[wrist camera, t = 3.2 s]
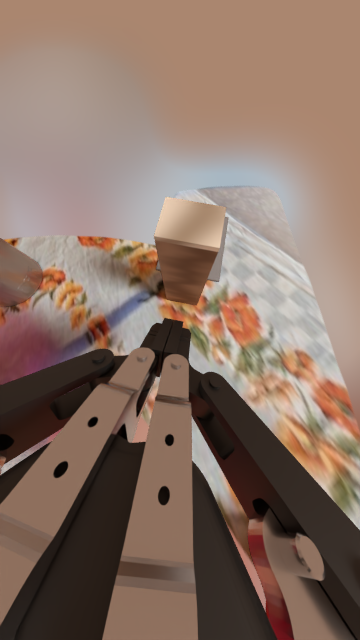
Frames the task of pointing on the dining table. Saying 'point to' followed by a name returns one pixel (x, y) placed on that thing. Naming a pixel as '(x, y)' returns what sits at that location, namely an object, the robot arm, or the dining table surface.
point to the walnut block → (187, 246)
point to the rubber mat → (217, 264)
